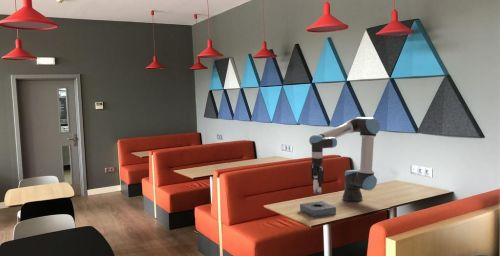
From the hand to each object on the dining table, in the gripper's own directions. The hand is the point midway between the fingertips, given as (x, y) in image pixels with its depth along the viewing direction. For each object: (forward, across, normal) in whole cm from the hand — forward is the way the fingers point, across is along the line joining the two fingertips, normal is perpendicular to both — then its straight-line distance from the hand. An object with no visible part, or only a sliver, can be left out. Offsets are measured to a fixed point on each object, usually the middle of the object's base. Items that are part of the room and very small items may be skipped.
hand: (317, 190), depth 284 cm
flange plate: (+16, 0, 0) cm, 16 cm away
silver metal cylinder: (+2, 0, 0) cm, 2 cm away
